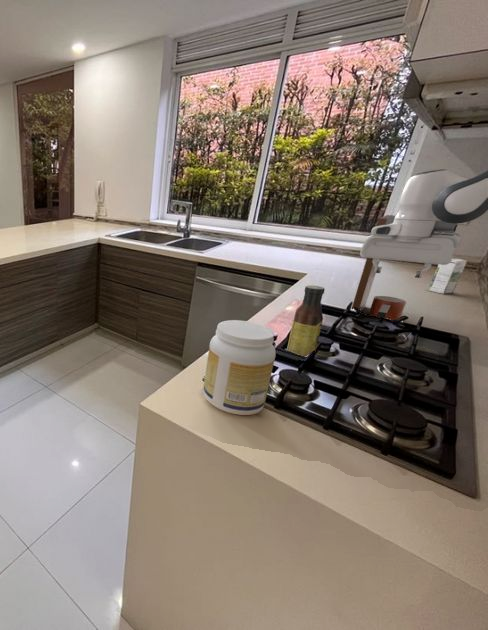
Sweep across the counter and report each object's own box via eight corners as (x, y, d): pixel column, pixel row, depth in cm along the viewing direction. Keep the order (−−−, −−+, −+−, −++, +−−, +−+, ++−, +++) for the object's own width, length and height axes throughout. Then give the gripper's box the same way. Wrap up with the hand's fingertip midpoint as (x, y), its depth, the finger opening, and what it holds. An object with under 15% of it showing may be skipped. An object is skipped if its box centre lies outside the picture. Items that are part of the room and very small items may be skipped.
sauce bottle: (317, 364, 88) (337, 291, 81) (291, 362, 89) (309, 290, 82) (305, 353, 94) (323, 284, 87) (281, 351, 95) (297, 283, 88)
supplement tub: (274, 403, 72) (292, 331, 66) (244, 425, 66) (261, 347, 60) (221, 379, 82) (233, 314, 76) (190, 396, 75) (200, 326, 69)
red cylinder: (401, 316, 120) (407, 299, 117) (393, 333, 107) (400, 313, 104) (370, 311, 125) (376, 294, 123) (359, 326, 112) (365, 307, 110)
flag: (420, 317, 119) (459, 217, 108) (416, 330, 108) (459, 221, 96) (358, 305, 132) (386, 215, 120) (348, 317, 120) (378, 218, 108)
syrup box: (437, 289, 151) (449, 257, 145) (453, 293, 145) (467, 260, 140) (427, 290, 149) (439, 258, 144) (443, 294, 144) (457, 260, 139)
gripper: (463, 230, 95) (445, 278, 99) (369, 226, 109) (357, 268, 114) (463, 232, 91) (445, 282, 96) (365, 228, 105) (353, 271, 110)
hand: (396, 275), depth 105 cm, fingers open, 8 cm apart
